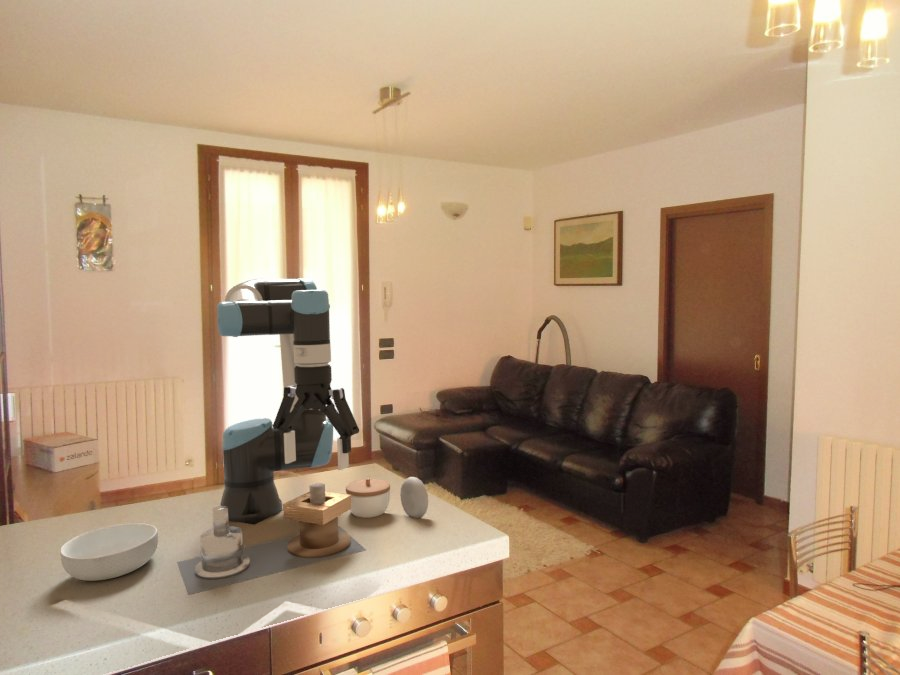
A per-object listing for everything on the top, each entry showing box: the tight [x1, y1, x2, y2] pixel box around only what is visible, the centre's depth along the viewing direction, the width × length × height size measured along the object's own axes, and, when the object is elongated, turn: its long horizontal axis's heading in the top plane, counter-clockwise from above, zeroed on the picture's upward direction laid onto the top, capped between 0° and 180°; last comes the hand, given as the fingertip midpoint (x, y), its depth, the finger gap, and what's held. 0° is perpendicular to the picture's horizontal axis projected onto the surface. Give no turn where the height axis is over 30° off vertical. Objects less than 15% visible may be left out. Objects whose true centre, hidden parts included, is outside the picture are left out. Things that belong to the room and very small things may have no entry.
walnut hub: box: [288, 482, 351, 558], centre depth 127 cm, size 13×13×13 cm
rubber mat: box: [176, 525, 367, 595], centre depth 122 cm, size 34×16×1 cm, turn 121°
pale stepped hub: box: [195, 505, 250, 580], centre depth 117 cm, size 10×10×12 cm
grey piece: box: [399, 476, 429, 519], centre depth 145 cm, size 10×4×10 cm, turn 34°
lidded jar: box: [345, 477, 391, 519], centre depth 146 cm, size 11×11×9 cm
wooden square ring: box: [282, 490, 351, 525], centre depth 127 cm, size 10×10×3 cm
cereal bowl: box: [59, 522, 159, 582], centre depth 119 cm, size 17×17×7 cm
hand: (316, 465), depth 126 cm, fingers open, 13 cm apart
